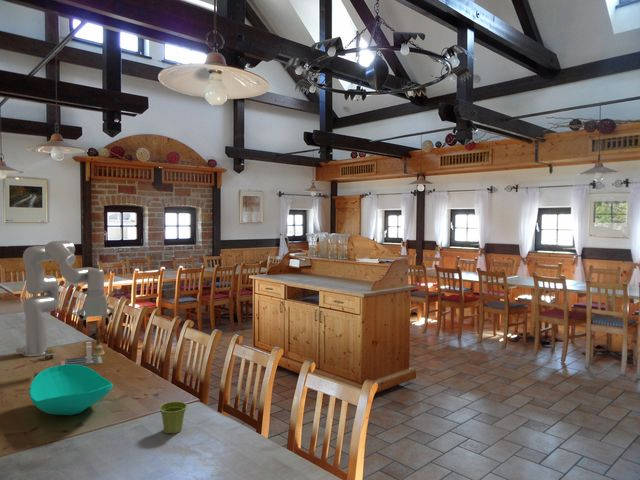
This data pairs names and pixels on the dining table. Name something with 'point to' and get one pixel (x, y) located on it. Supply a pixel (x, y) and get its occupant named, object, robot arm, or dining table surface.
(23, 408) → the dining table surface
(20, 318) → the dining table surface
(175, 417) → the plant pot
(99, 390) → the table top decor
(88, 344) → the handle
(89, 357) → the handle
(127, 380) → the dining table surface
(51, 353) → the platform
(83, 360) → the panel
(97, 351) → the hand bell
